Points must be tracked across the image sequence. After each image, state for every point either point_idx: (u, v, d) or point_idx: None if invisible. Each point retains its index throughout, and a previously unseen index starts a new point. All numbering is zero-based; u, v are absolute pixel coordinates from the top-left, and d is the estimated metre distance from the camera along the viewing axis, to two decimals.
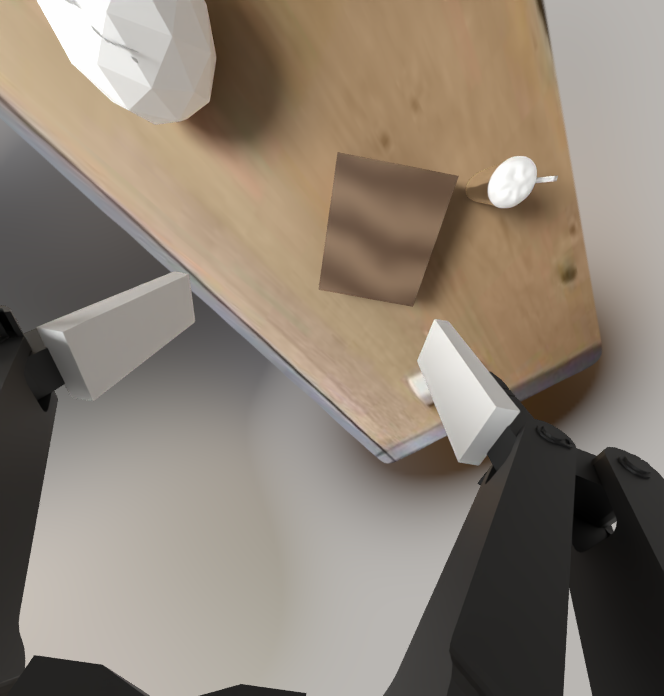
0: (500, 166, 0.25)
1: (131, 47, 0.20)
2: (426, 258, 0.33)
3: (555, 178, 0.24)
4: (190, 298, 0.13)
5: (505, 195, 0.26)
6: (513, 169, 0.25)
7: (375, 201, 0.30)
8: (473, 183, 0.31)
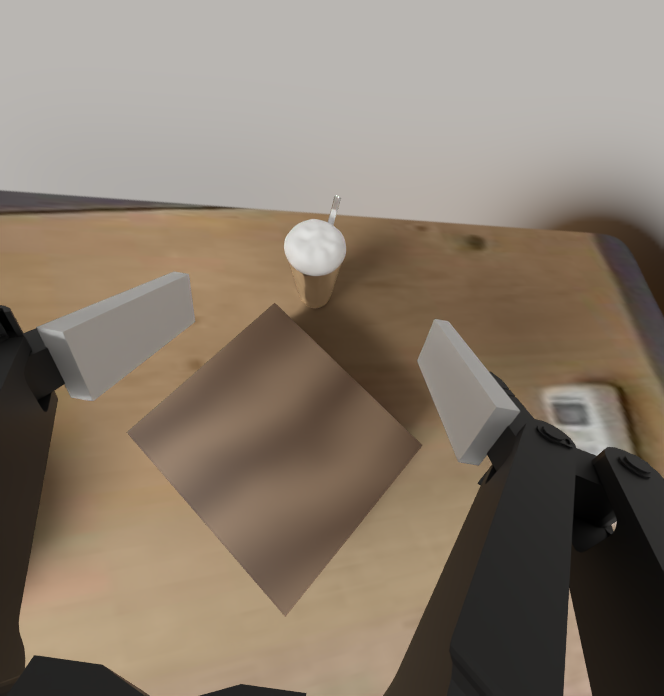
0: (285, 251, 0.18)
1: None
2: (352, 385, 0.19)
3: (337, 198, 0.17)
4: (190, 298, 0.13)
5: (322, 254, 0.17)
6: (297, 238, 0.18)
7: (223, 416, 0.18)
8: (302, 294, 0.24)
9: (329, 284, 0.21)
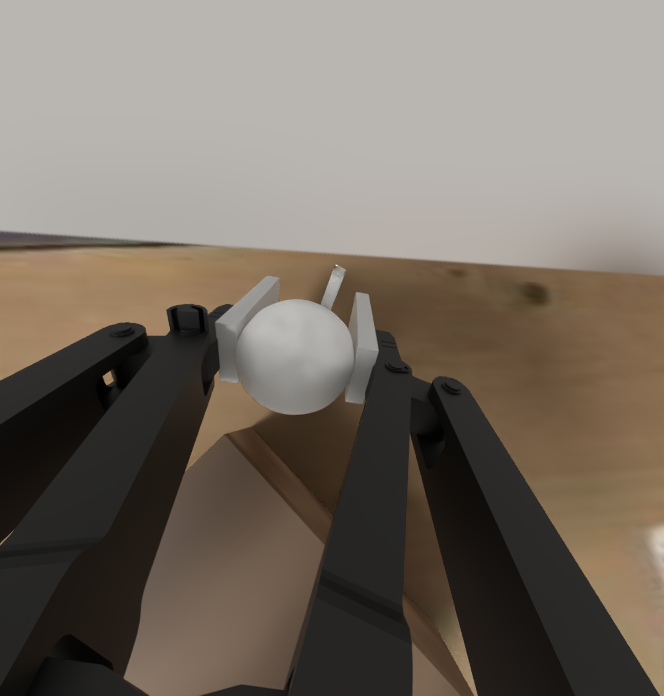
0: (237, 367, 0.09)
1: None
2: None
3: (339, 270, 0.09)
4: (277, 299, 0.15)
5: (307, 383, 0.09)
6: (258, 346, 0.09)
7: None
8: None
9: None
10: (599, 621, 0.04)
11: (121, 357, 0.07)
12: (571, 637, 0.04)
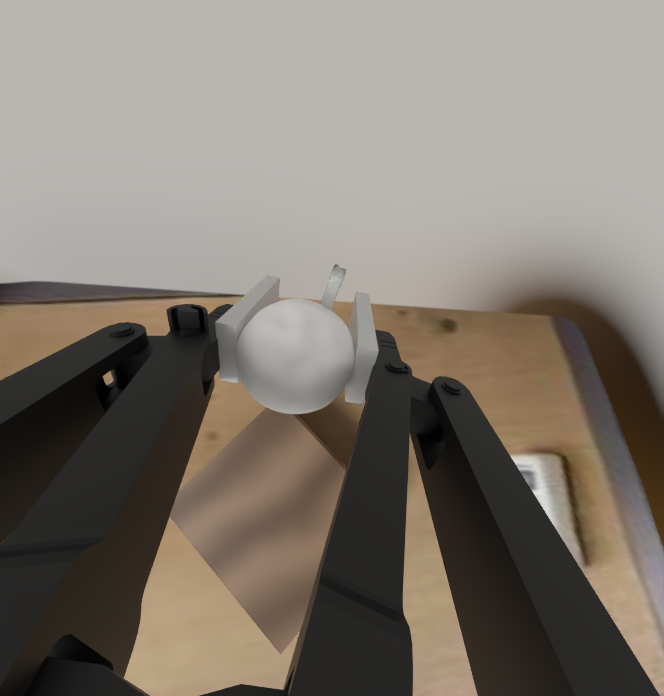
0: (237, 366, 0.09)
1: None
2: (337, 468, 0.25)
3: (339, 270, 0.09)
4: (277, 298, 0.15)
5: (307, 382, 0.09)
6: (258, 345, 0.09)
7: (235, 494, 0.24)
8: None
9: None
10: (599, 621, 0.04)
11: (121, 357, 0.07)
12: (571, 637, 0.04)
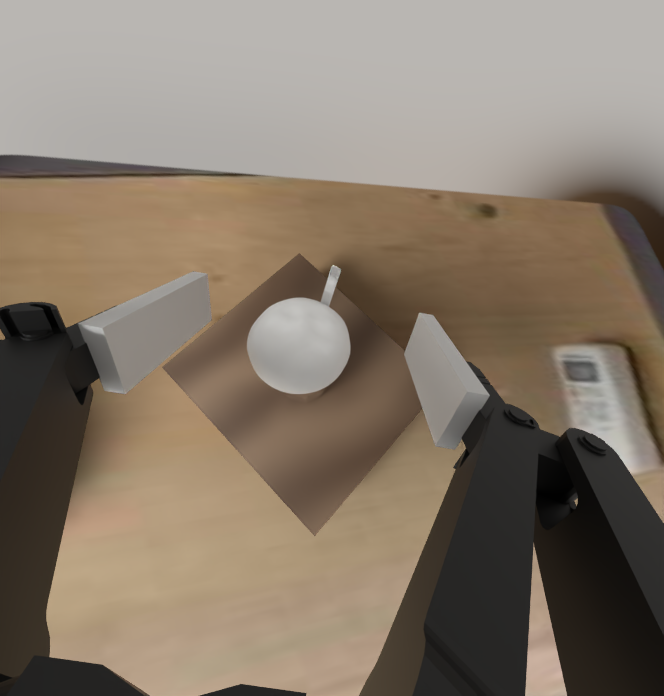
0: (249, 353, 0.11)
1: None
2: (375, 329, 0.20)
3: (335, 270, 0.11)
4: (208, 297, 0.14)
5: (310, 363, 0.10)
6: (268, 333, 0.10)
7: None
8: None
9: (323, 389, 0.13)
10: None
11: None
12: None
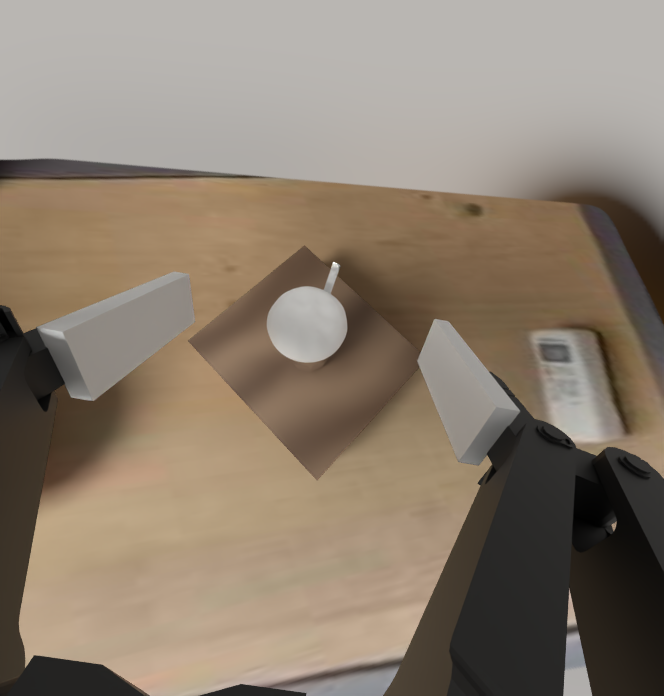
0: (268, 331, 0.14)
1: None
2: (369, 311, 0.24)
3: (336, 265, 0.13)
4: (190, 298, 0.13)
5: (316, 339, 0.13)
6: (283, 316, 0.13)
7: (264, 331, 0.22)
8: None
9: (325, 360, 0.17)
10: None
11: None
12: None
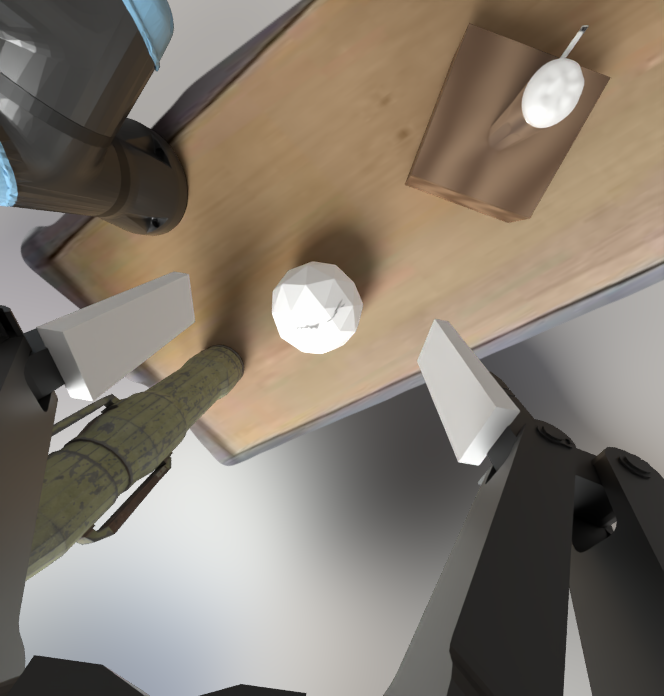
0: (528, 116, 0.22)
1: (336, 305, 0.32)
2: (548, 59, 0.27)
3: (584, 28, 0.19)
4: (190, 298, 0.13)
5: (569, 100, 0.21)
6: (541, 97, 0.21)
7: (462, 135, 0.29)
8: (506, 143, 0.27)
9: None
10: None
11: None
12: None
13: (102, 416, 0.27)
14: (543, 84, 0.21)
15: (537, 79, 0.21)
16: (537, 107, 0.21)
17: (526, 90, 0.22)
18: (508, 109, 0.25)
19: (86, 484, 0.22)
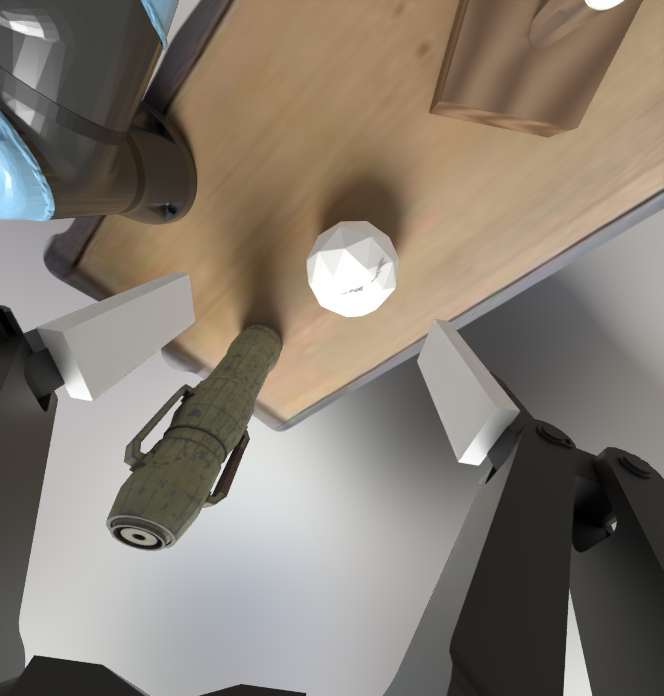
0: None
1: (377, 263, 0.31)
2: None
3: None
4: (190, 298, 0.13)
5: None
6: None
7: (498, 37, 0.26)
8: (554, 38, 0.24)
9: None
10: None
11: None
12: None
13: (186, 404, 0.30)
14: None
15: None
16: None
17: None
18: None
19: (198, 461, 0.26)
